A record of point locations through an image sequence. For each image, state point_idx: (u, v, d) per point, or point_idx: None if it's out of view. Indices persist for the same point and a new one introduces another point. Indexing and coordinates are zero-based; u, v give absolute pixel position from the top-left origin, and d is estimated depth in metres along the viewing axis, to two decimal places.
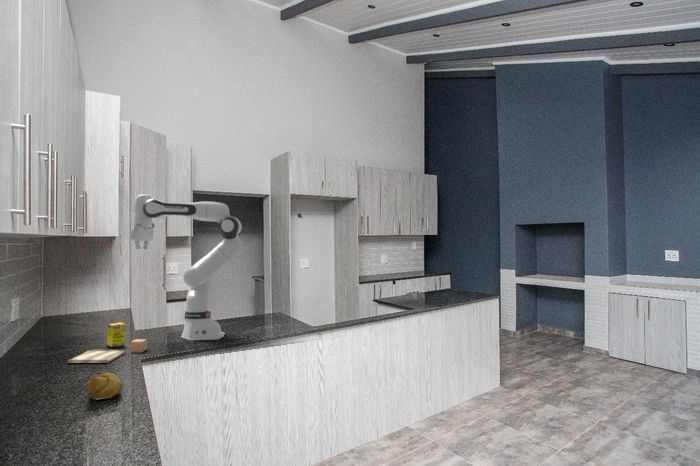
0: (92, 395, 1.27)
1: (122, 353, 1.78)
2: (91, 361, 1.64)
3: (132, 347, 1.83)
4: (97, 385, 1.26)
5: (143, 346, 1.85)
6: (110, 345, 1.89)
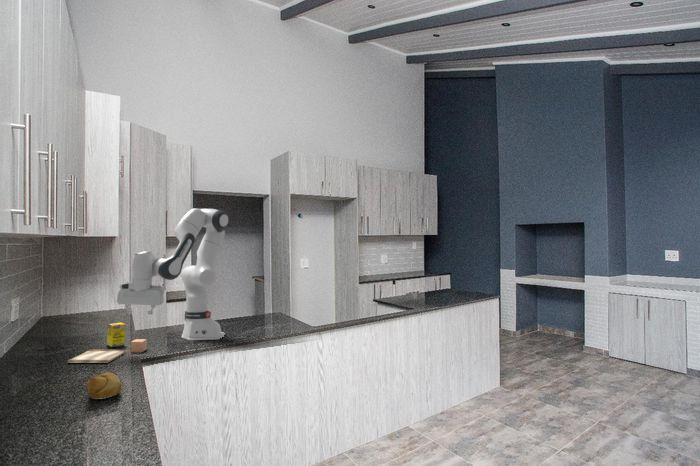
0: (91, 395, 1.27)
1: (122, 353, 1.78)
2: (91, 361, 1.64)
3: (132, 347, 1.83)
4: (96, 385, 1.26)
5: (143, 346, 1.85)
6: (110, 345, 1.89)
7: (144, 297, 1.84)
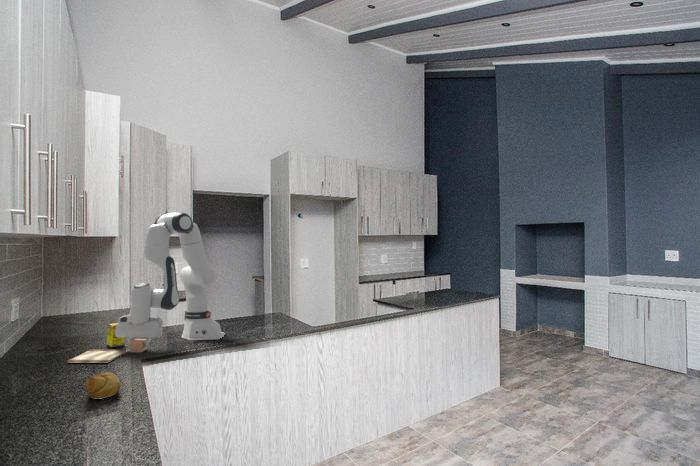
0: (90, 394, 1.28)
1: (122, 353, 1.78)
2: (91, 361, 1.64)
3: (132, 347, 1.83)
4: (95, 385, 1.27)
5: None
6: (110, 345, 1.89)
7: (143, 330, 1.84)
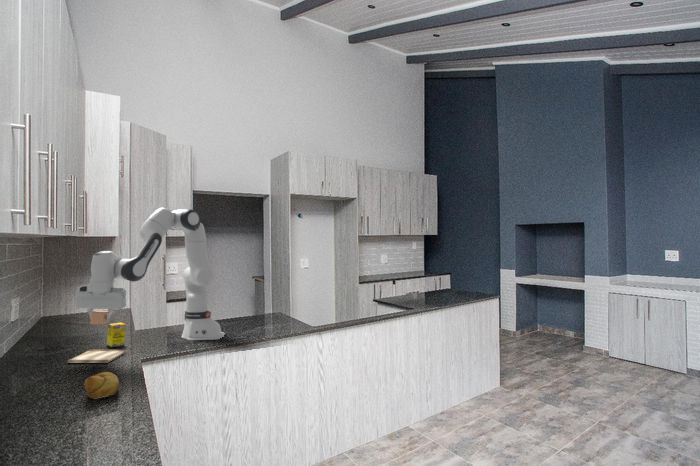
0: (89, 394, 1.28)
1: (122, 353, 1.78)
2: (91, 361, 1.64)
3: (92, 318, 1.70)
4: (93, 384, 1.27)
5: None
6: (110, 345, 1.89)
7: (104, 300, 1.71)
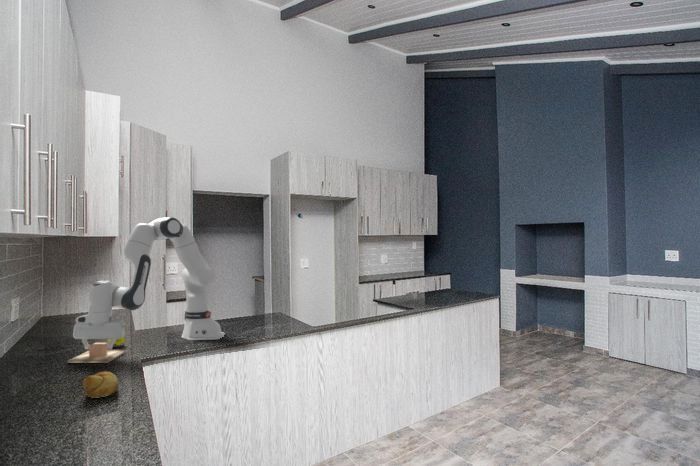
0: (87, 393, 1.28)
1: (122, 353, 1.78)
2: (91, 361, 1.64)
3: (91, 351, 1.69)
4: (92, 384, 1.27)
5: (103, 350, 1.72)
6: None
7: (103, 331, 1.71)
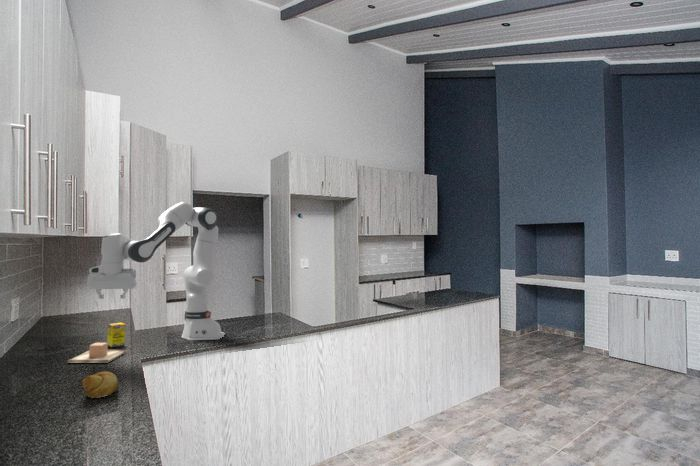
0: (87, 393, 1.29)
1: (122, 353, 1.78)
2: (91, 361, 1.64)
3: (91, 351, 1.69)
4: (91, 384, 1.27)
5: (103, 350, 1.72)
6: (110, 345, 1.89)
7: (115, 281, 1.78)
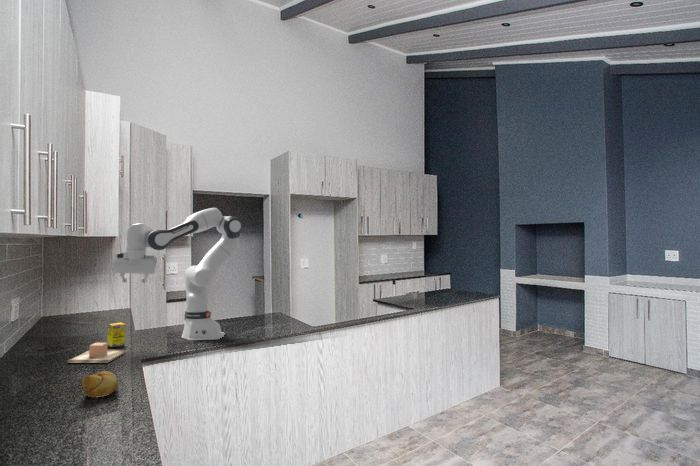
0: (86, 393, 1.29)
1: (122, 353, 1.78)
2: (91, 361, 1.64)
3: (91, 351, 1.69)
4: (90, 383, 1.28)
5: (103, 350, 1.72)
6: (110, 345, 1.89)
7: (138, 266, 1.95)
